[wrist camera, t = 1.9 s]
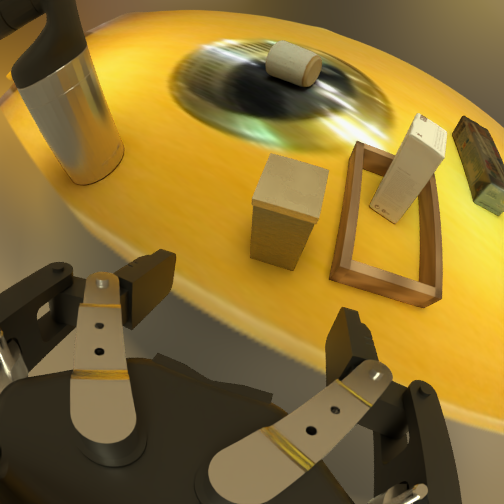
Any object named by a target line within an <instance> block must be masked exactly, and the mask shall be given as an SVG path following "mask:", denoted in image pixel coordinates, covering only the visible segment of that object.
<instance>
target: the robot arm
mask: <svg viewBox="0 0 504 504" xmlns="http://www.w3.org/2000/svg"><path fill="white" fill-rule="evenodd" d="M44 13H46V14H47V23H46V25H45V27H44V29H43V30H42V32H41V33H40V35H39V36H38V38H37V39H36V40H35V41H34V43H33V44H32V45H31V46H30V47H29V48H28V49H27V50H26V51H25V52H24V53H23V54H22V55H21V57H20V58H19V59H18V60H17V61H16V63H15V64H14V65H13V67H12V70H11V75H12V78H13V80H14V82H15V85H16V87H17V88H18V91H19V93H20V95H21V97H22V99H23V100H24V102H25V104H26V106H27V108H28V110H29V111H30V113H31V115H32V117H33V119H34V120H35V122H36V124H37V126H38V127H39V130H40V132H41V133H42V135H43V137H44V138H45V140H46V142H47V143H48V145H49V146H50V148H51V150H52V151H53V153H54V154H55V156H56V158H57V159H58V161H59V162H60V164H61V165H62V167H63V168H64V170H65V171H66V172H67V174H68V175H69V177H70V178H71V179H72V181H73V182H75V183H76V184H80V185H86V184H91V183H93V182H96V181H98V180H100V179H102V178H104V177H105V176H106V175H108V174H109V173H110V172H111V171H112V170H114V169H115V167H116V166H117V165H118V164H119V162H120V161H121V159H122V156H123V154H124V146H123V143H122V141H121V138H120V136H119V133H118V131H117V128H116V126H115V123H114V121H113V118H112V115H111V113H110V110H109V107H108V105H107V102H106V99H105V97H104V94H103V91H102V88H101V85H100V83H99V80H98V77H97V74H96V71H95V68H94V65H93V62H92V59H91V56H90V52H89V49H88V46H87V42H86V39H85V36H84V33H83V30H82V26H81V22H80V19H79V15H78V10H77V6H76V1H75V0H0V40H1V39H3V38H5V37H7V36H8V35H10V34H12V33H13V32H15V31H16V30H18V29H19V28H21V27H22V26H24V25H25V24H27V23H29V22H31V21H32V20H34V19H36V18H37V17H39V16H41V15H43V14H44ZM175 263H176V254H175V253H172V252H169V251H166V250H163V249H159V250H158V251H156V252H155V253H153V254H152V255H146V256H142V257H139V258H137V259H135V260H134V261H133V262H130V263H129V264H128V265H126V266H124V267H122V268H121V269H119V270H118V271H116V272H115V273H113V274H112V273H108V272H97V273H93V274H91V275H89V276H88V278H87V279H83V278H79V277H74V276H73V267H72V266H71V265H70V264H68V263H64V262H55V263H51V264H49V265H47V266H45V267H43V268H42V269H40V270H38V271H36V272H35V273H33V274H31V275H30V276H28V277H26V278H24V279H23V280H21V281H20V282H18V283H16V284H15V285H13V286H11V287H10V288H8V289H7V290H5V291H4V292H2V293H1V294H0V504H355V503H354V502H353V501H352V499H351V498H350V497H349V496H348V494H347V493H346V492H345V491H344V489H343V488H342V486H341V485H340V484H339V483H338V481H337V480H336V479H335V477H334V476H333V474H332V473H331V472H330V470H329V469H328V467H327V466H326V465H325V463H324V462H323V460H322V459H323V458H324V457H325V456H326V455H327V454H328V453H329V452H330V451H331V450H332V449H333V448H334V447H335V446H336V445H337V444H338V443H339V442H340V441H341V440H342V439H343V438H344V437H345V436H346V435H347V434H348V433H349V432H350V431H351V430H352V429H353V428H354V427H355V426H356V424H359V425H361V426H364V427H366V428H368V429H371V430H373V440H374V498H373V499H371V500H370V501H369V502H368V503H367V504H462V501H461V493H460V486H459V480H458V475H457V470H456V464H455V459H454V455H453V450H452V446H451V442H450V438H449V434H448V430H447V427H446V423H445V419H444V416H443V413H442V409H441V406H440V403H439V400H438V397H437V394H436V392H435V390H434V389H433V387H432V386H430V385H429V384H428V383H426V382H424V381H421V380H415V381H413V382H411V384H410V385H409V386H408V388H407V387H405V386H403V385H400V384H398V383H396V382H394V381H392V379H393V376H392V373H391V371H390V369H389V368H388V367H387V366H386V365H384V364H383V363H381V362H379V360H378V356H377V353H376V349H375V346H374V342H373V340H372V335H371V332H370V330H369V329H368V328H367V326H366V325H365V324H363V323H361V321H360V318H359V314H358V311H355V310H352V309H348V308H345V307H342V308H341V309H340V311H339V313H338V315H337V317H336V319H335V321H334V324H333V326H332V328H331V330H330V332H329V334H328V337H327V340H326V344H325V352H326V388H325V389H324V390H322V391H321V392H320V393H318V394H317V395H315V396H314V397H313V398H311V399H310V400H309V401H307V402H306V403H305V404H303V405H302V406H301V407H299V408H298V409H296V410H295V411H293V412H292V413H290V414H288V413H287V412H285V411H284V410H283V409H281V408H280V407H278V406H276V405H275V404H273V403H271V400H272V395H273V394H272V393H268V392H265V391H261V390H258V389H254V388H251V387H248V386H245V385H237V384H231V383H223V382H217V381H212V380H209V379H207V378H206V377H204V376H203V375H201V374H199V373H198V372H196V371H195V370H193V369H191V368H190V367H188V366H187V365H185V364H183V363H181V362H178V361H176V360H173V359H171V358H169V357H166V356H164V355H162V354H159V353H157V355H156V356H155V357H154V358H153V360H151V359H146V358H126V356H125V347H124V339H123V328H122V326H125V327H126V328H128V329H131V330H133V329H134V328H135V327H136V326H137V325H138V324H139V323H140V322H141V321H142V320H143V319H144V318H145V317H146V316H147V315H148V314H149V313H150V312H151V311H152V310H153V309H154V308H155V307H156V306H157V305H158V304H159V303H160V302H161V301H162V300H163V299H164V298H165V297H166V296H167V295H168V294H169V292H170V290H171V288H172V284H173V277H174V270H175ZM47 302H49V308H50V311H49V312H47V313H46V314H45V315H43V316H42V317H41V318H40V319H38V320H37V312H38V310H39V308H40V307H41V306H43V305H44V304H45V303H47ZM75 327H76V338H75V350H74V368H73V370H69V371H63V372H58V373H52V374H46V375H40V376H34V377H28V373H29V372H30V371H31V370H32V369H33V368H34V367H35V366H36V365H37V364H38V363H39V362H40V361H41V360H42V358H44V357H45V356H46V355H47V354H48V353H49V352H50V351H51V350H52V349H53V348H54V347H55V346H56V345H57V344H58V343H60V342H61V341H62V340H63V339H64V338H65V337H66V336H67V335H68V334H69V333H70V332H71V331H72V330H73V329H74V328H75ZM407 432H409V436H410V439H409V443H408V444H407V435H406V433H407Z"/></svg>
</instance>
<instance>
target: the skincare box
mask: <svg viewBox="0 0 504 504" xmlns="http://www.w3.org/2000/svg"><path fill="white" fill-rule="evenodd" d="M446 138H447V132H446V131H445V130H444V129H443V128H441V127H440V126H438V125H437V124H435V123H434V122H432V121H431V120H429V119H427V118H426V117H424V116H423V115H421V114H419V113H417V114H416V116H415V118H414V120H413V122H412V124H411V126H410V128H409V130H408V132H407V134H406V136H405V138H404V140H403V142H402V144H401V146H400V148H399V150H398V152H397V154H396V155H395V157H394V159H393V161H392V163H391V165H390V167H389V169H388V170H387V172H386V174H385V176H384V178H383V179H382V181H381V183H380V185H379V187H378V189H377V191H376V193H375V195H374V197H373V199H372V201H371V203H370V207H371V208H372V209H374V210H375V211H376V212H378V213H379V214H381V215H382V216H384V217H385V218H386V219H388V220H389V221H391V222H392V223H394V224H395V223H397V222H398V221H399V219H400V218H401V217H402V216H403V214H404V213H405V212H406V210H407V209H408V208H409V206H410V205H411V204H412V203H413V201H414V200H415V199H416V197H417V196H418V195H419V193H420V192H421V191H422V189H423V188H424V186H425V185H426V184H427V182H428V181H429V179H430V178H431V177H432V175H433V174H434V172H435V171H436V169H437V168H438V166H439V165H440V163H441V162H442V161H443V159H444V158H445V149H446Z"/></svg>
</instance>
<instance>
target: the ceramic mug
mask: <svg viewBox="0 0 504 504" xmlns="http://www.w3.org/2000/svg"><path fill="white" fill-rule="evenodd" d="M321 67H322V60H321V58H320V57H319V56H318V55H317V54H315V53H313V52H311V51H309V50H306V49H304V48H301V47H299V46H296V45H294V44H291V43H289V42H286V41H279V42H277V43H276V44H275V45H273V47H272V48H271V49H270V51H269V53H268V56H267V59H266V72H267V73H268V74H269V75H271V76H274V77H277V78H279V79H282V80H285V81H288V82H290V83H293V84H295V85H298V86H301V87H309V86H311V85H312V84H313V83H314V82H315V81H316V79H317V77H318V76H319V73H320V71H321Z"/></svg>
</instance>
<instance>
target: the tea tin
mask: <svg viewBox="0 0 504 504" xmlns="http://www.w3.org/2000/svg"><path fill="white" fill-rule="evenodd" d="M328 173H329V170H327V169H324V168H321V167H318V166H314V165H311V164H308V163H304V162H301V161H297V160H294V159H290V158H287V157H283V156H279V155H276V154H272V153H271V154H270V156H269V158H268V161H267V163H266V166H265V168H264V170H263V173H262V175H261V178H260V180H259V183H258V185H257V187H256V190H255V192H254V195H253V197H252V205H253V218H252V234H251V249H250V258H252V259H256V260H259V261H262V262H265V263H269V264H272V265H275V266H278V267H282V268H285V269H288V270H291V271H293V270H294V268H295V266H296V264H297V261H298V259H299V257H300V255H301V253H302V251H303V248H304V246H305V244H306V242H307V240H308V237H309V235H310V233H311V231H312V229H313V226H314V224H317V221H318V219H319V216H320V211H321V207H322V202H323V197H324V193H325V188H326V183H327V178H328Z"/></svg>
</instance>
